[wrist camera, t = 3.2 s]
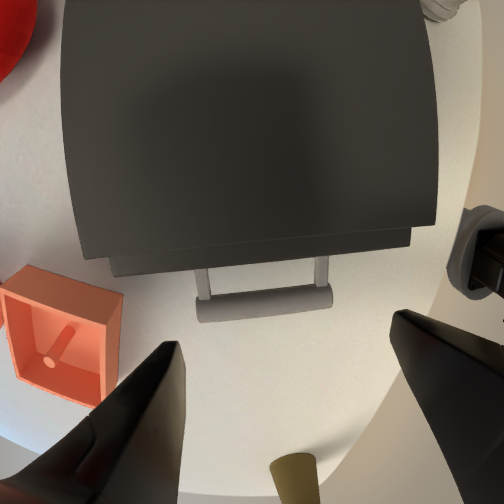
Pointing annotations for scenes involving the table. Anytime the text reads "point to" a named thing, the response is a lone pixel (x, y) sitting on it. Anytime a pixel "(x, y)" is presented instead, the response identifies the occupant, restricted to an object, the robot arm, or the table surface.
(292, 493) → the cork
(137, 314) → the table surface
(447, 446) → the robot arm
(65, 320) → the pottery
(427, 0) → the rook chess piece
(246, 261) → the dark grey drawer
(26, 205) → the table surface
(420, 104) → the dark grey drawer box
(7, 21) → the tomato
